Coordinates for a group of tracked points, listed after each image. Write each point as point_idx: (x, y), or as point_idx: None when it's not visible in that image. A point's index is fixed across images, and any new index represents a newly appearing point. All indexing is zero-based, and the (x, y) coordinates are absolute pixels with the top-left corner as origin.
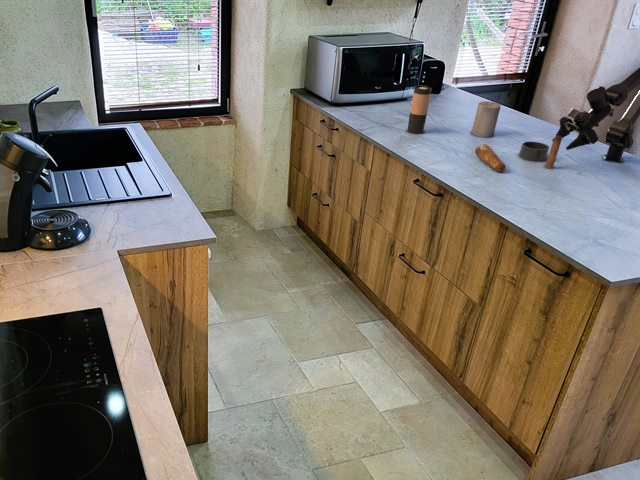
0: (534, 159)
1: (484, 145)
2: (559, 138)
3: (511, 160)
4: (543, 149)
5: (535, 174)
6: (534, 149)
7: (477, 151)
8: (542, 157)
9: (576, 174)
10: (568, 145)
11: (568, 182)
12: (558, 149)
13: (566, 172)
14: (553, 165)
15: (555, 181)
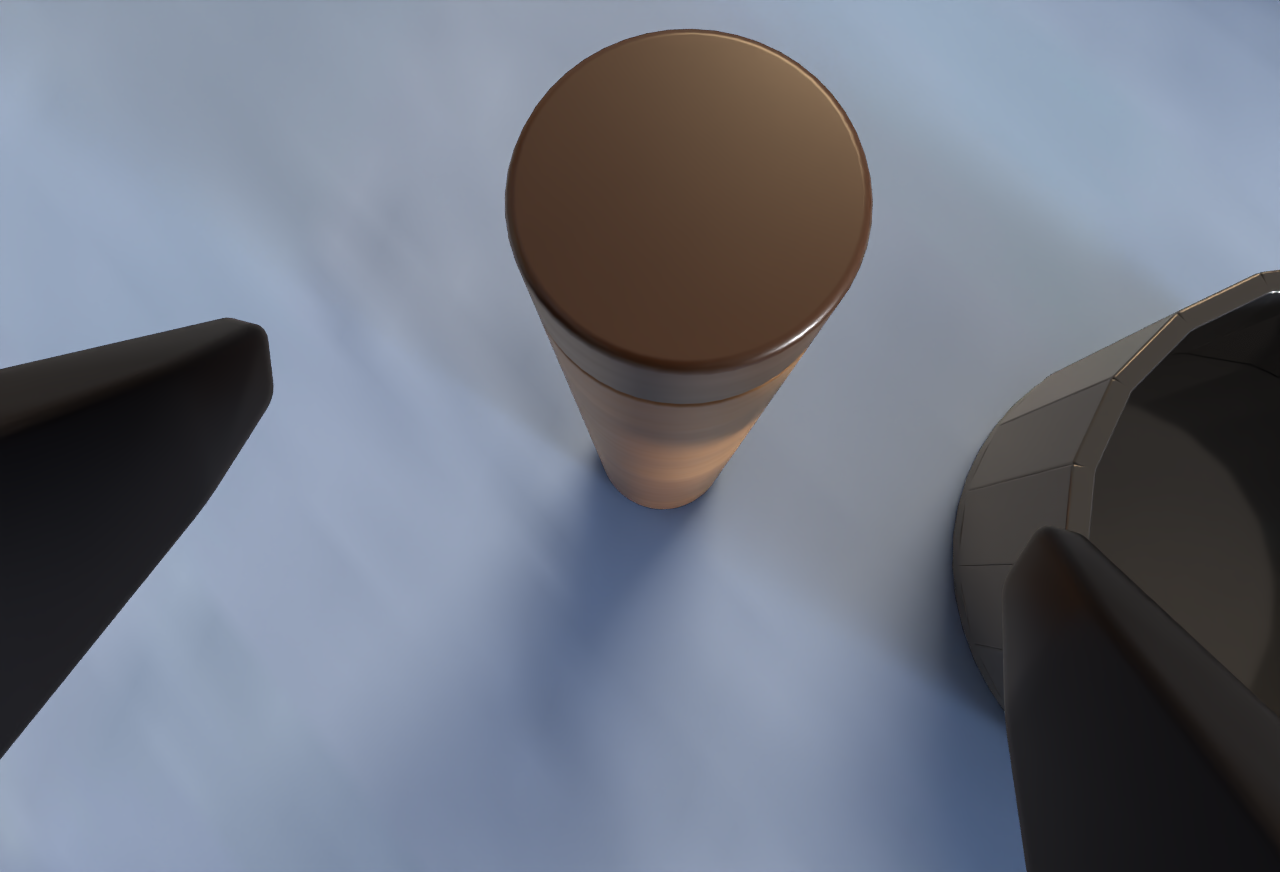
0: (1005, 423)
1: None
2: (539, 127)
3: (1135, 105)
4: (1076, 518)
5: (498, 5)
6: (1151, 334)
7: None
8: (978, 555)
9: (219, 633)
10: (179, 352)
11: (45, 213)
12: (575, 400)
13: (360, 542)
14: (608, 476)
15: (165, 65)
